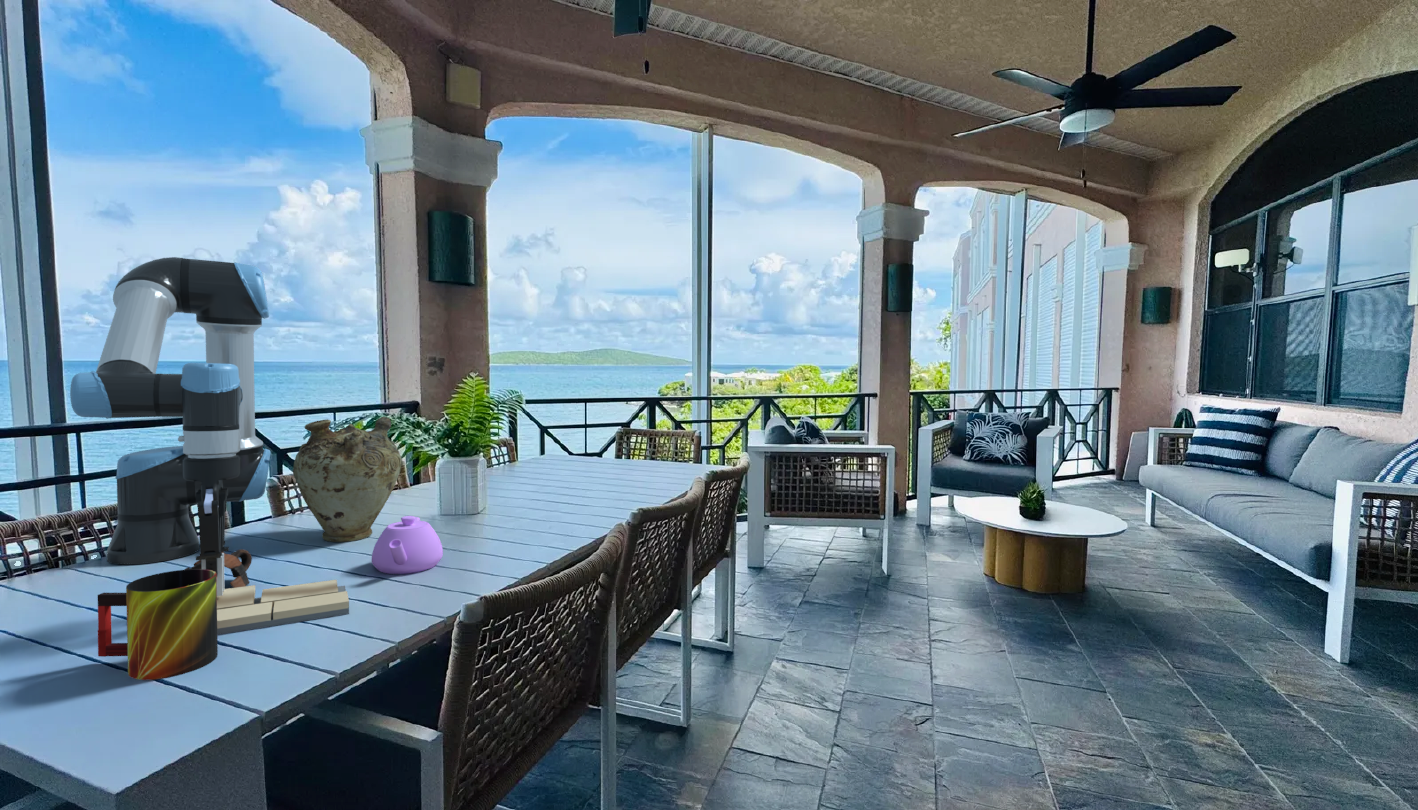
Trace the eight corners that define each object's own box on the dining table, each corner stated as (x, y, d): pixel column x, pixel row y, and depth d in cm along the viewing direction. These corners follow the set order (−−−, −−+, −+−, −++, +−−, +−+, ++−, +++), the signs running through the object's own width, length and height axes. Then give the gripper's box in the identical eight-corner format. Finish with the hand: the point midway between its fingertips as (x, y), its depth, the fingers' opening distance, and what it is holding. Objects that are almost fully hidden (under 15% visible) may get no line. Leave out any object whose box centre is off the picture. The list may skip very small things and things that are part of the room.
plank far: (262, 595, 112) (262, 589, 111) (336, 585, 118) (336, 579, 118) (260, 609, 106) (260, 602, 106) (338, 597, 112) (338, 591, 112)
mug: (100, 662, 89) (98, 578, 88) (223, 643, 95) (222, 565, 95) (73, 693, 80) (71, 601, 80) (210, 670, 87) (209, 585, 86)
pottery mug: (229, 600, 114) (199, 564, 112) (190, 619, 116) (160, 583, 113) (275, 564, 125) (249, 531, 123) (239, 581, 127) (213, 549, 125)
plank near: (172, 602, 105) (171, 595, 105) (255, 591, 111) (255, 585, 111) (165, 622, 100) (164, 615, 99) (253, 609, 106) (252, 603, 106)
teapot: (356, 584, 123) (356, 530, 122) (384, 554, 142) (384, 508, 142) (432, 580, 126) (432, 528, 125) (449, 552, 145) (449, 506, 145)
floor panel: (164, 616, 105) (164, 603, 105) (344, 590, 119) (344, 579, 119) (148, 645, 94) (148, 631, 94) (349, 613, 108) (349, 601, 108)
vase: (394, 543, 147) (381, 415, 146) (283, 556, 142) (269, 425, 141) (418, 522, 170) (407, 411, 168) (323, 533, 165) (311, 419, 164)
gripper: (189, 451, 109) (191, 585, 110) (175, 461, 97) (177, 612, 98) (243, 449, 113) (244, 578, 114) (235, 459, 101) (237, 603, 102)
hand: (213, 593), depth 106 cm, fingers open, 2 cm apart
